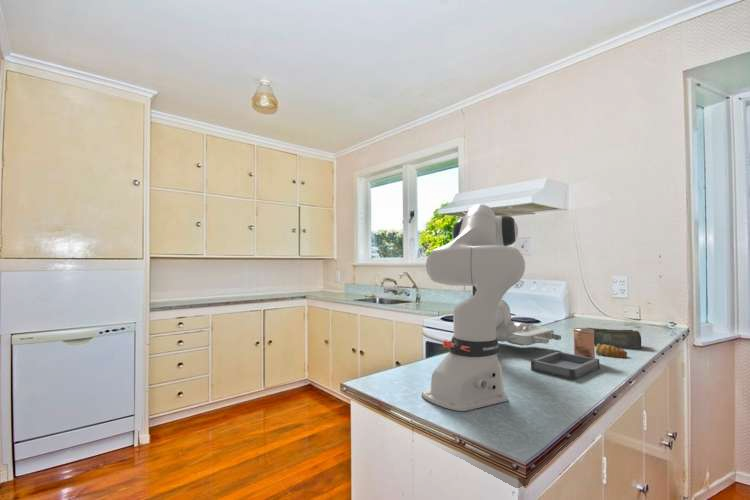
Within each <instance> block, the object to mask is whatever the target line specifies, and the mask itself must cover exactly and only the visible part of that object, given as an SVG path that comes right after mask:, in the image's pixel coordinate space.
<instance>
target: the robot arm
mask: <svg viewBox="0 0 750 500" xmlns="http://www.w3.org/2000/svg"><path fill="white" fill-rule="evenodd" d="M518 227H519V226H518V225H517V222H516V221H515V219H514V218H513V216H509V215H502V216H497V215H496V214H495V211H494V210H493V209H492V207H490V206H488V205H486V204H475V205H473V206H471V207H469V209H468V210H467V212H466V213H465V215H464V217H463V218H460V219H459V220H457V221H456V222H455V223H454V224H453V226H452V232H451V236H452V240H451V241H450V242H447V243H446V244H444V245H442V246H439V247H436V248H433V249H432V250H431V252H430V253H429V254H428V256H427V258H426V261H425V262H426V263H425V268H426V270H425V271H426V273H427V275H428V277H429V279H430V280H431V281H432V282H433V283H436V284H441V285H445V286H454V287H455V286H456V287H457V286H461V287H462V286H463V287H469V286H471V287H472V289H471V291H472V296H470V297H468V298H465V299H463V300H461V301H459V302H458V303H457V304H456V305H455V307H454V309H453V313H452V315H453V316H452V317H453V319H452V320H453V335H452V337H451V340H447V339H444V340H443V342H442V347H443V348H444V349H445V348H446V349H448V351H449V352H448V353H447V354H446V356H445V357H444V358H443V360H442V361H440V363H439V364H438V365H437V367H435V368H434V370H433V371H432V374H431V380H430V386H429V387H427V388H425V389H424V390H422V391H421V396H422V397H423V399H425V400H426V401H428V402H430V403H432V404H434V405H436V406H439V407H442V408H445V409H449V410H453V411H456V412H457V411H458V412H466V411H467V412H468V411H471V410H474V409H475V410H476V409H480V408H483V407H488V406H492V405H495V404H500V403H505V402H508V401H509V396H508V394H507V393H506V392H505V387H504V386H505V385H504V377H503V367H502V364H501V362H500V361H499V358H498V352H499V345H500V344H499V342H500V343H501V342H502V343H503V342H506V343H509V344H511V345H517V346H531V345H534V344H545V345H547V344H549V341H550V340H557V341H561V340H562V335H561V334H557V333H555V332H554V329H552V328H549V327H544V326H541V325H535V324H534V323H532V322H531V323H528V322H526V323H525V322H519V321H512V314H511V309H510V306H509V305H508V303H507V302H506V301H505V300H504V299H503V297H504V296H505V294H506V293H507V292H508V291H509V290H510V289H511V288H512V287H513V286H515V285H516V284H518V283H519V282H520V281H521V280H522V278H523V277H524V273H525V270H526V262H525V259H524V258H525V257H524V256H523V254H522V252H521V251H520V250H519V249H517V247H512V246H511V245H513V244H514V243H515V242H517V238H518V236H519V235H518V234H519V228H518Z"/></svg>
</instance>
